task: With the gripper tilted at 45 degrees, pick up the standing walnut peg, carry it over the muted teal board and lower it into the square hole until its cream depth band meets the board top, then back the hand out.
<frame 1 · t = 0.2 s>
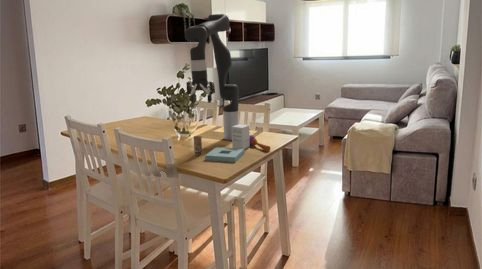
hand: (201, 102, 193), 29 cm above the table, tool pointing down, fingers open, 8 cm apart
peg: (198, 155, 206), on the table
board: (225, 156, 202), on the table
supplement box: (241, 148, 219), on the table
kendama: (257, 148, 218), on the table
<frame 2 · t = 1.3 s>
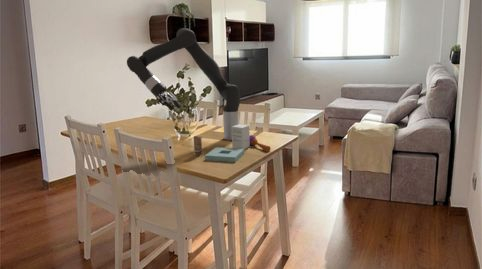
hand: (176, 108, 206), 24 cm above the table, tool tilted 45°, fingers open, 8 cm apart
nothing on the table moved.
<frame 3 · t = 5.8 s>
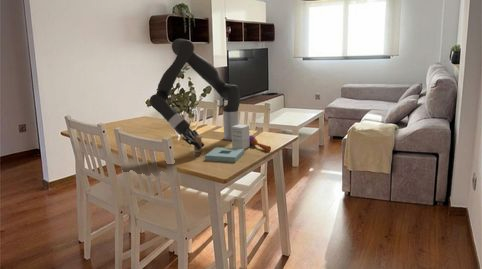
hand: (201, 147, 204), 4 cm above the table, tool tilted 45°, fingers closed on peg, 4 cm apart
peg: (198, 155, 206), on the table, touching gripper
everything else where it was.
when the fingers open (5 cm above the table, at t = 12.7 s): peg stays where it is, resting in board.
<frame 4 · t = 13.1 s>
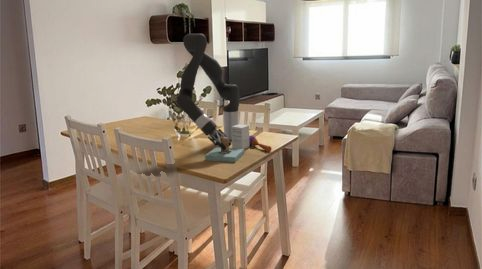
hand: (227, 147, 200), 5 cm above the table, tool tilted 45°, fingers open, 7 cm apart
peg: (225, 156, 202), resting in board
everything else where it was.
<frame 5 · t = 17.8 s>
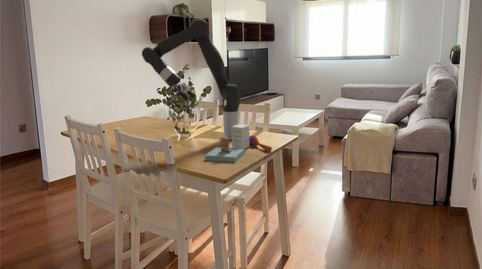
hand: (190, 98, 210), 29 cm above the table, tool tilted 45°, fingers open, 8 cm apart
at the end: peg 0.1 cm off-centre on the board, point 0.0 cm above the board's base; peg tilted 0°; the gripper is holding nothing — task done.
